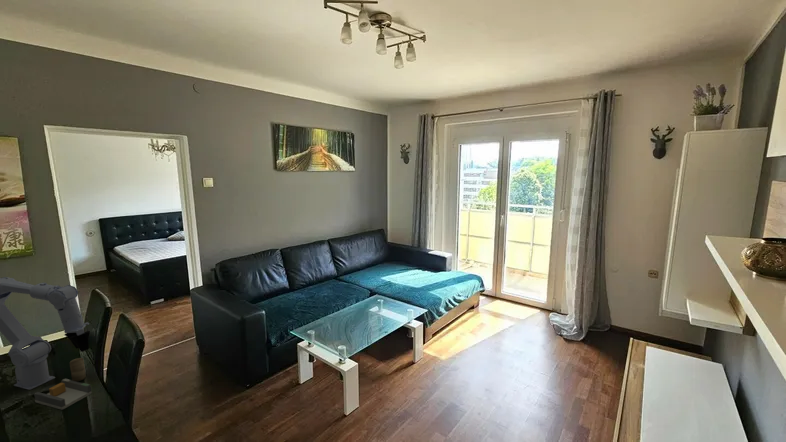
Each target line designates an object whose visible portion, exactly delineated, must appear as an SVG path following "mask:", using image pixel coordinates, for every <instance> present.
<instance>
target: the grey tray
mask: <svg viewBox="0 0 786 442" xmlns="http://www.w3.org/2000/svg"><path fill="white" fill-rule="evenodd" d="M61 383H64V384H65V388H66V391H65V392H63V393H61V394H59V395H57V396H52V395H50V392H47V393H44V392H43V393H42V392H39V391H37V392H35V393H34V392H33V393H34V395H33V396H34V402H35V403H37V404H40V405H44V406H47V407H50V408H54V409H59V410H65V409H66V408H68V407H70V406H73V404H75V403H78V402H79V401H81V400H83V399H85V398H86V397H88V396H90V395H91V394H93V392H92V386H91V384H89V383H86V382H81V381H78V382H76V381H72V379H68V378H63V379H62V380H61Z"/></svg>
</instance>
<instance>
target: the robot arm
mask: <svg viewBox="0 0 786 442" xmlns="http://www.w3.org/2000/svg"><path fill="white" fill-rule="evenodd" d="M12 293H16V294H25V295H29V296H30V297H31V298H32V299H36V300H41V301H43V300H44V301H48V302H49V303H50V304H52V305H53V307H54V309H55V310H57V313H58V316H59V318H60V320H61V323H62V327H63V330H64V331H63V332H64V334H63V335H64V336H65V337H66V338H67V339H68V340H70V342H71V343H72V345H73V346H74V348H75V349H79V350H80V352H82V353H83V352H86V351H87V350H89V349H90V348H89V347H90V346H89V344H90V343H89V337H90V333H91V331H90V330H87V331H85V328H86V326H88V325H90V322H84V318H83V315H82V313H81V311H80V307H79V305H78V300H77V298H78V295H79V292H78V289H77V287H75V286H73V285H70V284H67V285H64V286H60V285H59V284H58V285H54V284H49V283H47V282H40V283H37V284H31V283H28V282H24V281H19V280H16V279H15V278H14V277H8V276H4V277H0V333H1V335H3V336H4V338H6V340H7V341H8V342H9V344H11V345H12V346H11V347H10V348H9V350H8V352H7V354H8V356H9V358H10V360H11V363H12V364H13V365H14V366H15V369H14V372H15V379H16V383H15V384H13V386H14V387H18V388H21V389H25V390H28V391H29V390H30V391H31V390H32V389H35V388H37V387H39V386H41V385H44V384H45V383H47V382H50V381H52V380H54V379H55V378H56V377H55V376H53V375H50V373H49V367H48V360H47V358H48V357H49V354H50V352H51V351H52V346H51V344H50V343H49V342H48V341H47V340H44V339H43V338H42V336H37V335H31V334H30V333H29V332H28V330H27V329H26V327H24V326H23V324H22V323H21V322H20V321H19V320H18V318H16V316H15V315H14V314H13V313H12V311H11V310H10V309H9V308H8V306H6V305H5V303H6V301H7V300H8V299H9V298H10V296H11V295H12Z"/></svg>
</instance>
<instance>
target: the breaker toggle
mask: <svg viewBox="0 0 786 442" xmlns="http://www.w3.org/2000/svg"><path fill="white" fill-rule="evenodd" d="M48 390H49V392H48V393H50V395H52V396H57V395H59V394H61V393H63V392H65V391H66V388H65V384H64V383H62V382H59V383H57V384H56V385H53V386H52V387H49V388H48Z"/></svg>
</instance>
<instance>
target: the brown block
mask: <svg viewBox="0 0 786 442" xmlns="http://www.w3.org/2000/svg"><path fill="white" fill-rule="evenodd" d="M69 369H70V374H71V380H72V381H76V382H81V381H83V380H85V379H86V378H87V377H86V375H87V374H86V367H85V361H84V358H83V357H77V358H75V359H72V360H70V362H69Z"/></svg>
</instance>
